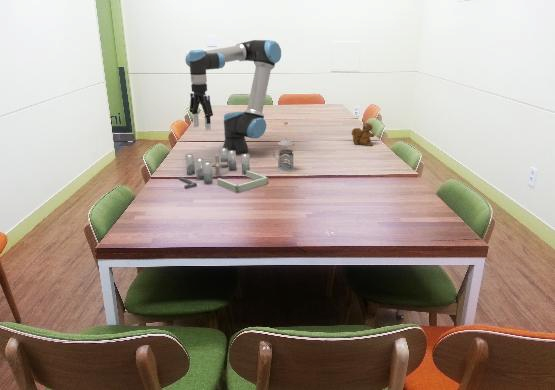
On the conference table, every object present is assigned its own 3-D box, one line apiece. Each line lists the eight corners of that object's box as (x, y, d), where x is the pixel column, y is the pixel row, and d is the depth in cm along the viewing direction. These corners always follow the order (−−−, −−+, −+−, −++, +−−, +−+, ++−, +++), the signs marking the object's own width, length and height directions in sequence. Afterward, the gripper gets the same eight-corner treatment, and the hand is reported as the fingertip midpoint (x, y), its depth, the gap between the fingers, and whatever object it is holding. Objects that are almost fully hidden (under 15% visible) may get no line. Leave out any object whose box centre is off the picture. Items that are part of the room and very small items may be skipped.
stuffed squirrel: (374, 146, 276) (375, 125, 271) (350, 145, 278) (351, 124, 273) (373, 142, 285) (374, 121, 280) (351, 141, 287) (352, 121, 282)
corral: (248, 176, 224) (248, 170, 223) (268, 183, 213) (268, 177, 212) (217, 184, 212) (217, 178, 211) (237, 192, 202) (236, 186, 200)
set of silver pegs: (224, 164, 243) (223, 146, 240) (251, 173, 227) (251, 154, 224) (182, 174, 227) (181, 155, 224) (208, 185, 211) (207, 165, 208)
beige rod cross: (209, 178, 221) (207, 158, 218) (206, 172, 230) (205, 153, 227) (229, 176, 224) (228, 156, 220) (226, 170, 233) (225, 151, 229)
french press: (293, 172, 228) (293, 123, 219) (271, 171, 230) (270, 123, 222) (296, 167, 237) (297, 119, 228) (275, 165, 239) (274, 119, 231)
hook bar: (171, 181, 217) (170, 179, 216) (181, 179, 220) (181, 176, 220) (186, 189, 207) (185, 186, 206) (196, 186, 211) (196, 183, 210)
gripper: (180, 82, 225) (183, 126, 233) (205, 86, 209) (208, 133, 217) (193, 80, 230) (196, 123, 238) (218, 84, 214) (221, 130, 222)
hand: (202, 128), depth 227 cm, fingers open, 10 cm apart
